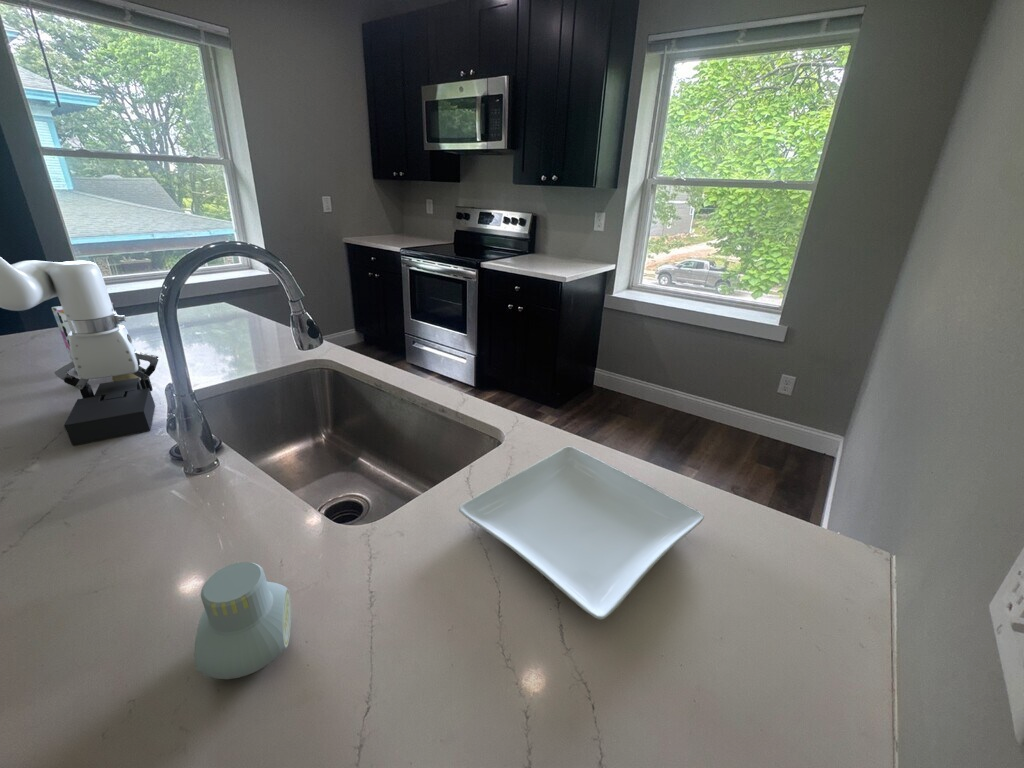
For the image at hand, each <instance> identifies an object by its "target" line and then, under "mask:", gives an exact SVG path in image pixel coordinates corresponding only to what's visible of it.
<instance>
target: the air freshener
mask: <svg viewBox="0 0 1024 768" xmlns="http://www.w3.org/2000/svg"><path fill="white" fill-rule="evenodd" d="M200 598H201V602H202V605H203V607H204V609H203V611H202V612H201V613H202V614H201V616H200V619H199V622H198V625H197V630H196V633H195V634H196V635H195V641H194V655H193V658H194V666H195V670H197V671H198V672H199V673H200V674H202V675H203V676H206V677H208V678H211V679H216V680H217V679H218V680H232V679H233V680H234V679H238V678H242V677H246V676H249V675H251V674H254V673H256V672H258V671H260V670H261V669H264V668H265V667H267V666H269V664H271V663H272V662H273V661H275V660H276V659H277V658H278V657H280V655H281V654H282V653H283V652H284V651H285V650H286V649H287V647H288V645H289V643H290V636H291V627H292V624H291V623H292V604H291V603H292V602H291V601H292V600H291V594H290V590H289V588H288V587H286V586H284V585H282V584H280V583H277V582H274V581H273V582H272V581H268V580H267V578H266V575H265V571H264V569H263V567H262V566H261V565H260V564H258V563H255V562H249V561H240V562H239V561H238V562H234V563H232V564H228V565H226V566H224V567H222V568H220V569H219V570H217V571H216V572H214V573H213V574H212V575H211V576H210V577H209V578H208V579H207V580H206V581H205V583H204V584H203V586H202V587H201V591H200Z"/></svg>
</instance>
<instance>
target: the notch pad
mask: <svg viewBox="0 0 1024 768" xmlns="http://www.w3.org/2000/svg"><path fill="white" fill-rule="evenodd" d="M155 409H156V404H155V401H154V398H153V395H152V391H150V389H149V388H146V389H139V390H133V391H128V392H127V395H126V397H122V398H116V399H110V400H104V401H103V399H102V397H101V396H95V397H89V398H83V397H82V398H77V400H76V401H75V403H74V405H73V407H72V408H71V411H70V413H69V415H68V416H67V418H66V421H65V422H64V424H63V427H64V429H65V431H66V434H67V436H68V438H69V441H70V443H71V446H73V447H74V446H79V445H83V444H90V443H95V442H100V441H105V440H110V439H115V438H116V439H117V438H120V437H125V436H130V435H136V434H140V433H147V432H150V431H151V430H152V424H153V419H154V414H155Z"/></svg>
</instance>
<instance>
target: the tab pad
mask: <svg viewBox="0 0 1024 768" xmlns="http://www.w3.org/2000/svg"><path fill="white" fill-rule="evenodd" d="M140 379H141V378H134V379H127V380H121V381H108V382H101V383H99V384H98V387H97V388H96V391H95V393H94V397H95V396H101V397H102V399H103V401H104V400H110V399H116V398H122V397H126V395H127V392H128V391H133V390H139V389H142V386H141V383H140Z"/></svg>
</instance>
